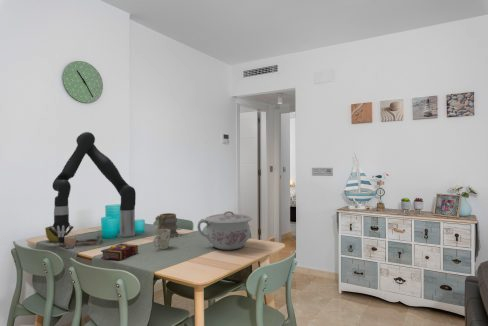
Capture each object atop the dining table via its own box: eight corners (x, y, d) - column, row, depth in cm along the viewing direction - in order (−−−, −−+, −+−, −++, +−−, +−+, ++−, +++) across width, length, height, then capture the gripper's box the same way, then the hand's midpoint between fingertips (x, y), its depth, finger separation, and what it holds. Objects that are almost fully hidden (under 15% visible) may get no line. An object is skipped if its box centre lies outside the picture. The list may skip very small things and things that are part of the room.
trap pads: (88, 240, 199) (88, 239, 199) (71, 249, 180) (71, 247, 180) (80, 240, 199) (80, 239, 199) (62, 249, 180) (62, 247, 180)
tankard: (165, 232, 221) (165, 211, 221) (181, 234, 217) (181, 212, 217) (146, 239, 203) (146, 215, 203) (163, 240, 198) (163, 216, 198)
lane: (101, 240, 199) (101, 232, 199) (100, 244, 189) (100, 236, 189) (62, 243, 192) (62, 235, 191) (59, 247, 182) (59, 239, 182)
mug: (173, 246, 184) (173, 229, 184) (160, 252, 172) (160, 234, 172) (160, 245, 187) (160, 228, 187) (147, 251, 175) (147, 233, 175)
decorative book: (138, 253, 172) (138, 244, 172) (117, 262, 157) (117, 252, 157) (121, 251, 176) (121, 242, 176) (99, 260, 161) (99, 250, 160)
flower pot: (67, 239, 202) (67, 225, 202) (58, 242, 193) (58, 228, 193) (54, 239, 203) (54, 224, 203) (44, 242, 194) (44, 227, 194)
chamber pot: (261, 245, 187) (261, 210, 187) (233, 257, 165) (233, 216, 164) (223, 238, 203) (223, 206, 203) (193, 248, 180) (193, 212, 180)
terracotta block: (75, 243, 191) (75, 236, 191) (74, 245, 187) (74, 238, 187) (66, 244, 190) (66, 237, 190) (64, 246, 185) (64, 239, 185)
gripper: (75, 212, 193) (75, 240, 193) (50, 213, 188) (50, 242, 188) (73, 214, 186) (73, 243, 186) (46, 215, 181) (46, 245, 181)
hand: (61, 243), depth 187 cm, fingers closed
